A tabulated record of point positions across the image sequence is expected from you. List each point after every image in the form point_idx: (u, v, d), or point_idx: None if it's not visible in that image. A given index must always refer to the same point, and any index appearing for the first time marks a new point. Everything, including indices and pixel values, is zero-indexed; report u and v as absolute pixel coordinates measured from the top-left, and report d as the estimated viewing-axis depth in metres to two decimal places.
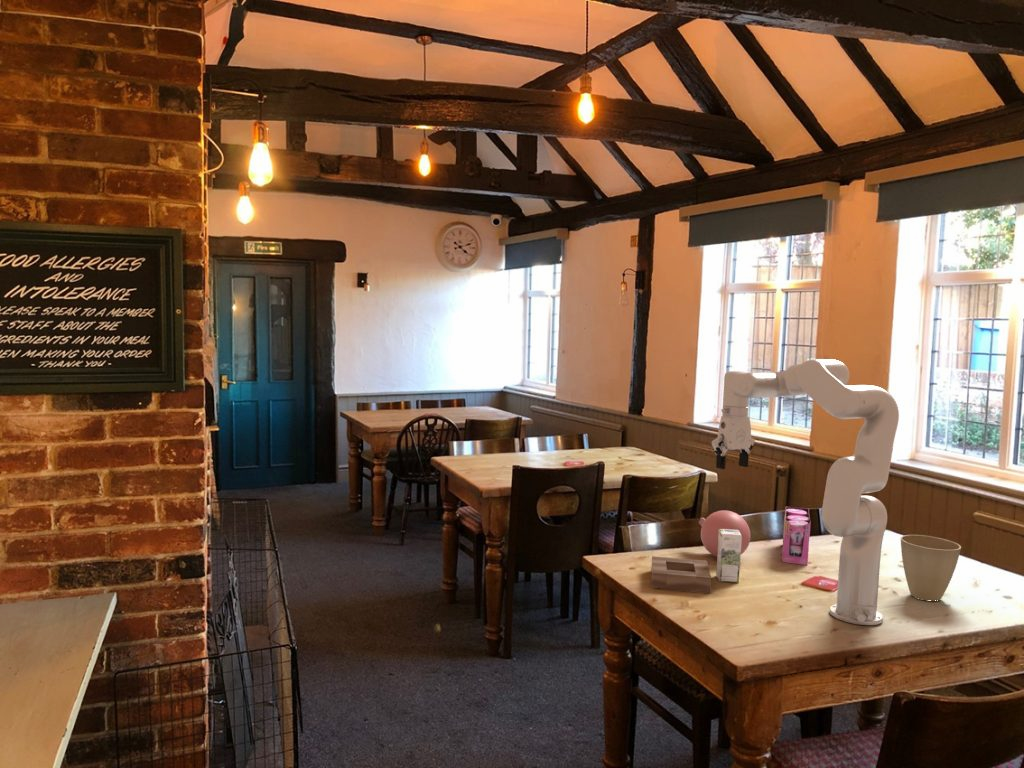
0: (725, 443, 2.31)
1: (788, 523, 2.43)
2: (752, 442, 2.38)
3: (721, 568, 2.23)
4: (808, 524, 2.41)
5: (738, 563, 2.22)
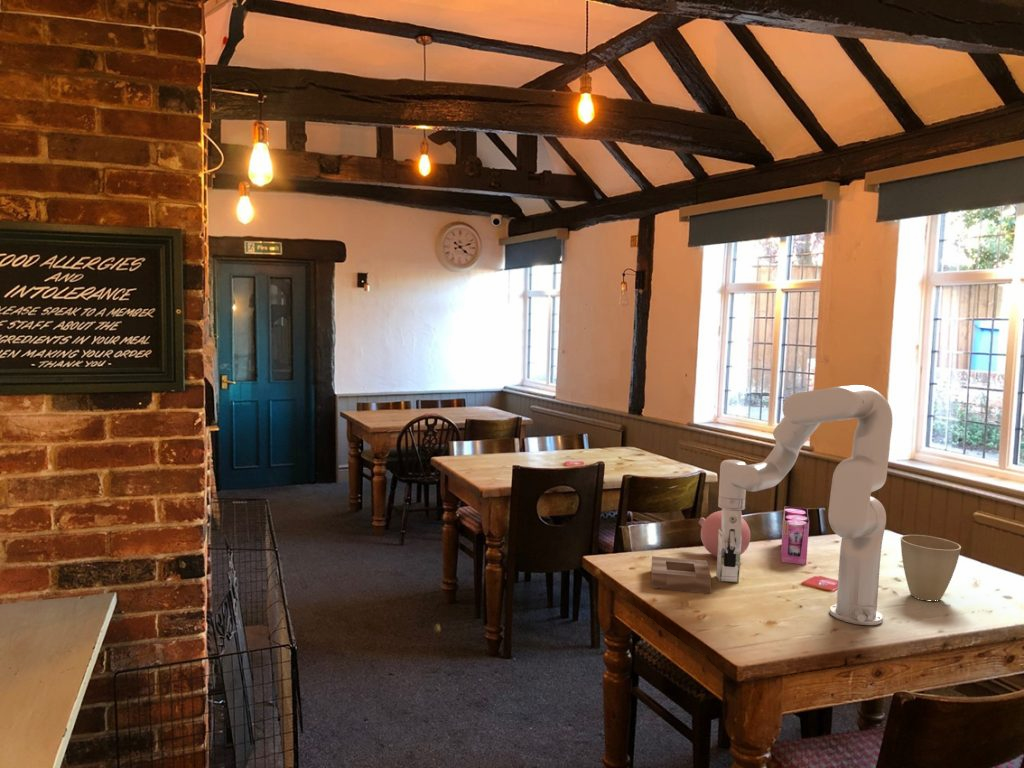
0: (737, 538, 2.19)
1: (787, 523, 2.43)
2: None
3: (721, 568, 2.23)
4: (807, 524, 2.42)
5: (738, 563, 2.22)
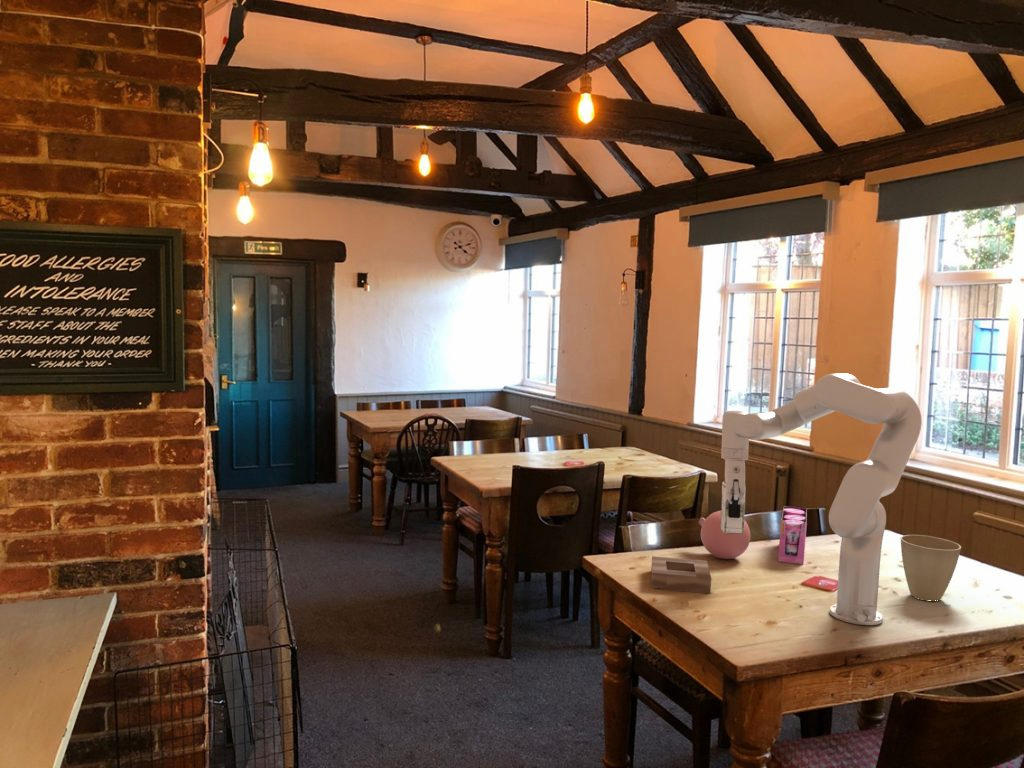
0: (741, 488, 2.18)
1: (784, 522, 2.44)
2: None
3: (725, 520, 2.21)
4: (804, 523, 2.42)
5: (743, 514, 2.21)
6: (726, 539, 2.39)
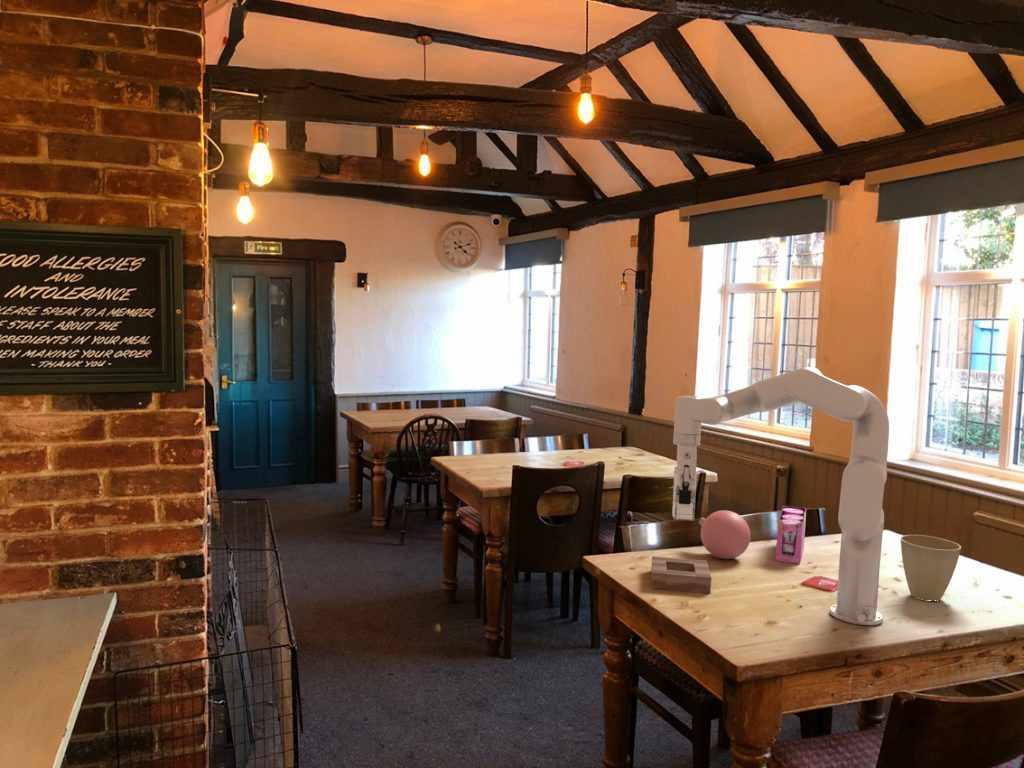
0: (692, 474, 2.14)
1: (781, 522, 2.44)
2: None
3: (676, 506, 2.18)
4: (801, 523, 2.42)
5: (694, 500, 2.17)
6: (726, 539, 2.39)
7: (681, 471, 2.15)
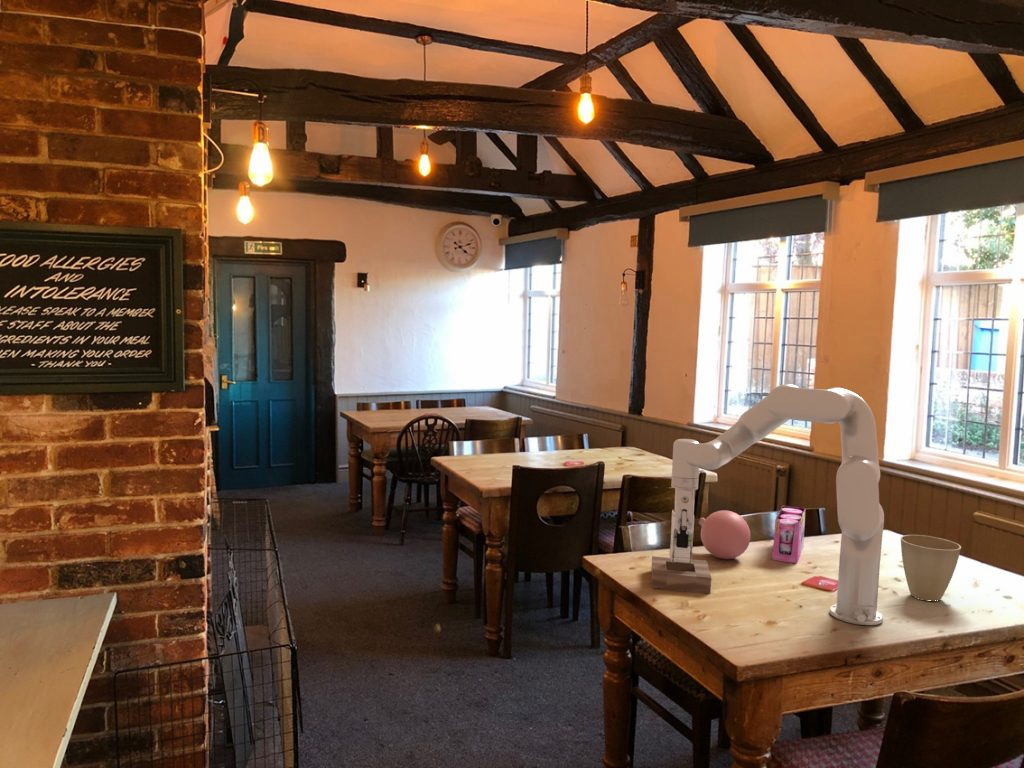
0: (689, 518, 2.15)
1: (778, 521, 2.45)
2: None
3: (673, 549, 2.19)
4: (798, 523, 2.43)
5: (691, 543, 2.18)
6: (726, 539, 2.39)
7: (679, 515, 2.16)
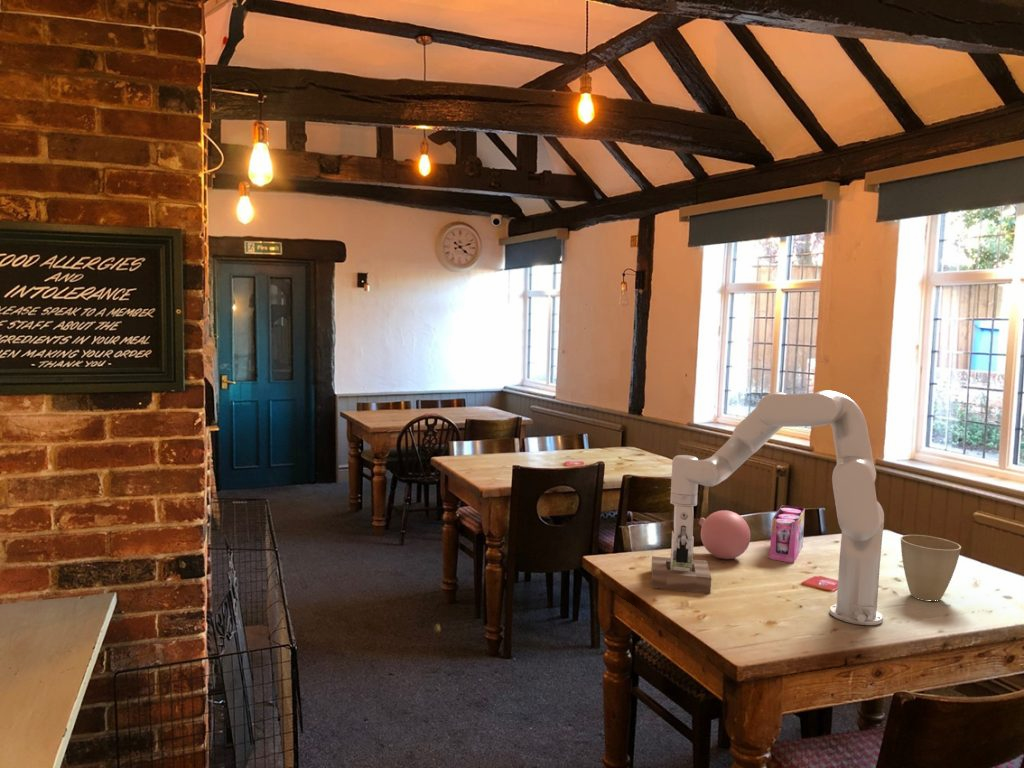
0: (688, 535, 2.16)
1: (775, 521, 2.46)
2: None
3: None
4: (794, 522, 2.43)
5: (691, 565, 2.18)
6: (726, 539, 2.39)
7: (678, 531, 2.16)
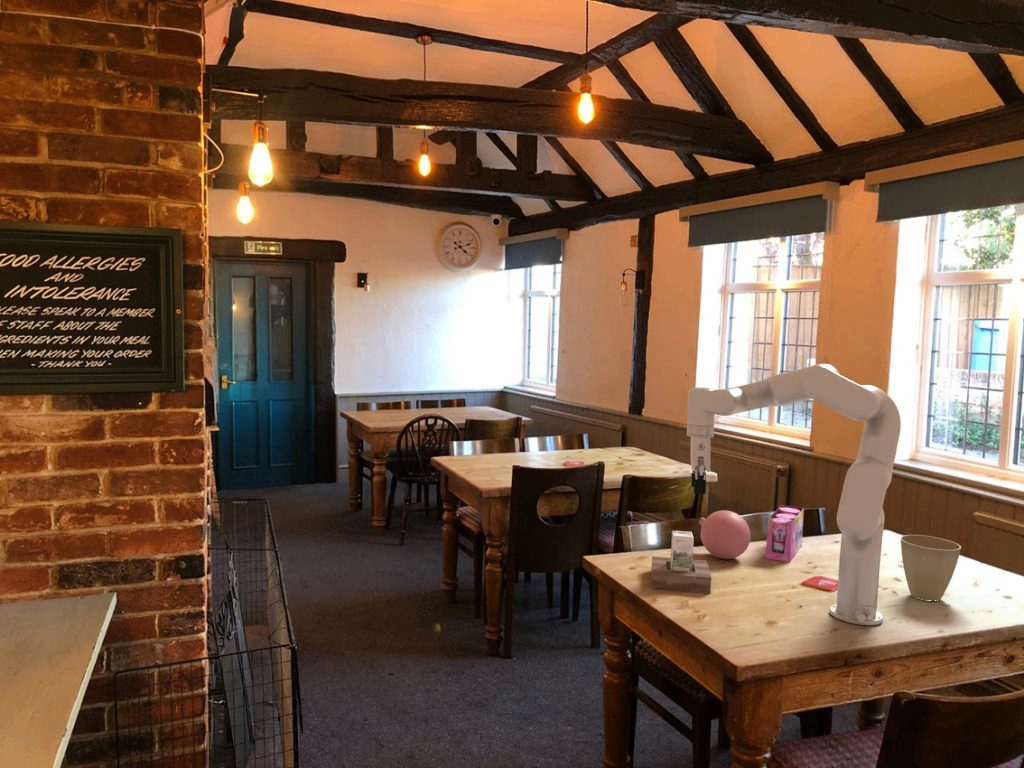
0: (706, 466, 2.14)
1: (771, 520, 2.46)
2: None
3: None
4: (790, 521, 2.44)
5: (690, 565, 2.18)
6: (726, 539, 2.39)
7: (695, 463, 2.15)
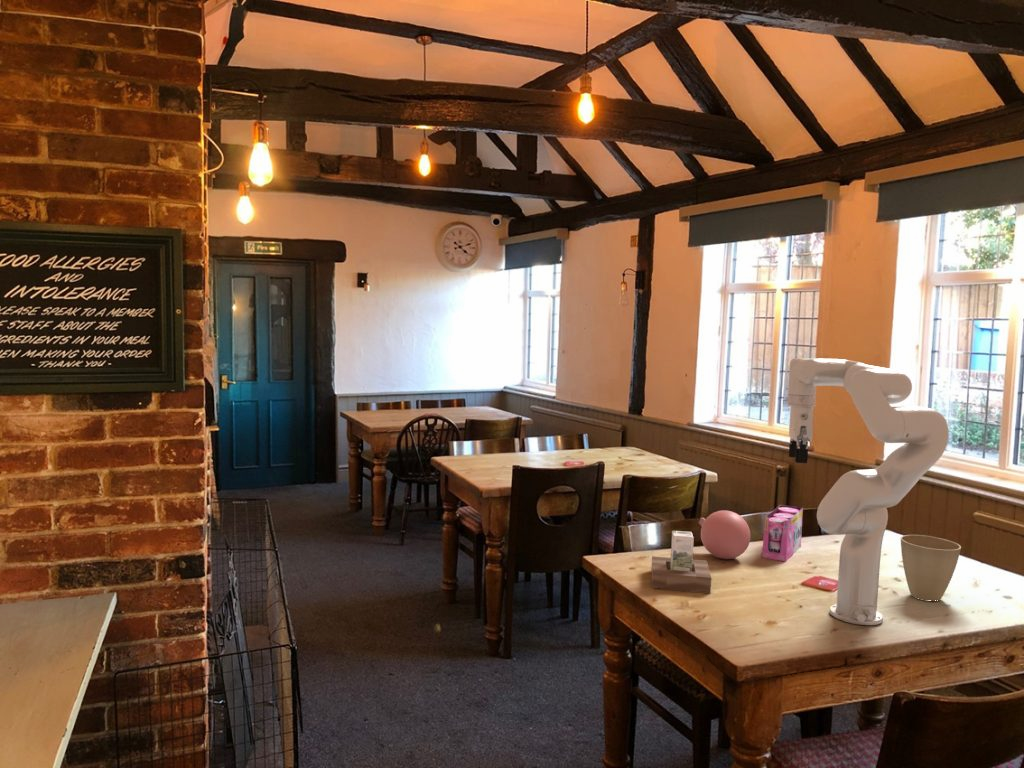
0: (808, 435, 2.16)
1: (767, 519, 2.47)
2: None
3: None
4: (786, 521, 2.44)
5: (690, 565, 2.18)
6: (726, 539, 2.39)
7: (798, 432, 2.16)
